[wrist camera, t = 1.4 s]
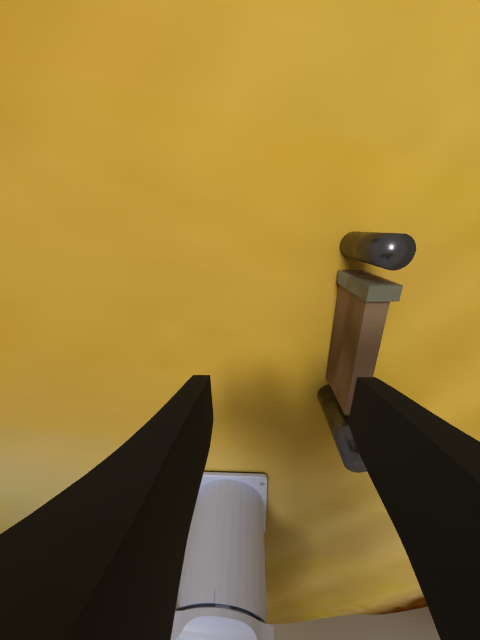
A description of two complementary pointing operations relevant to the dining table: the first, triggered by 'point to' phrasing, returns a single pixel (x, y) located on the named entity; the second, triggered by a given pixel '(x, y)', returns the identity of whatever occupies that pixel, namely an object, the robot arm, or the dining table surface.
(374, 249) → the gate posts
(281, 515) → the dining table surface
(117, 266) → the dining table surface
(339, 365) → the brown wooden block
